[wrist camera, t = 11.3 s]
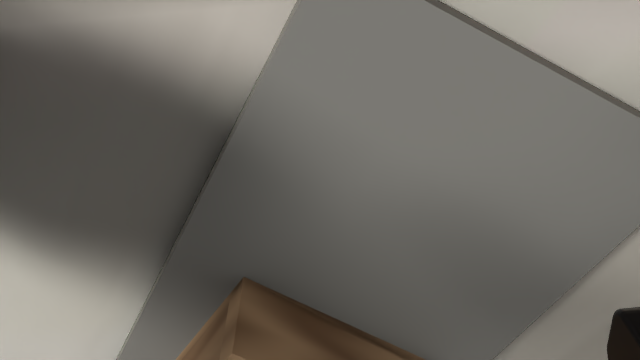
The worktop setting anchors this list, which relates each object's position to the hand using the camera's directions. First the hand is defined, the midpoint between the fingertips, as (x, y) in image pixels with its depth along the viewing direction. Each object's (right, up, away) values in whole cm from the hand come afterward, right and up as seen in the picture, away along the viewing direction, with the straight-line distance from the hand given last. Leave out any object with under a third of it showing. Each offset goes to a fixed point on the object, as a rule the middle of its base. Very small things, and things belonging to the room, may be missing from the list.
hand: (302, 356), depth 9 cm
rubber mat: (+1, -2, +15) cm, 15 cm away
